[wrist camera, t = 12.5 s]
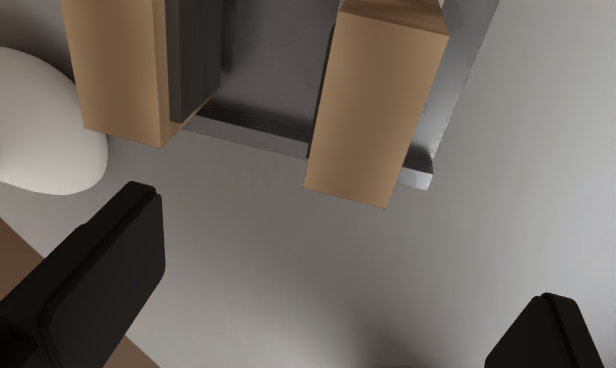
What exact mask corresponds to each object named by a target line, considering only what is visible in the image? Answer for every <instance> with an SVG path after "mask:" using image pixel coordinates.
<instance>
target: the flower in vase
mask: <svg viewBox="0 0 616 368" xmlns="http://www.w3.org/2000/svg"><path fill="white" fill-rule="evenodd" d="M107 161H108V142H107V137H106V134H104V133H100V132H96V131H92V130H88V129H84V125H83V120H82V115H81V110H80V104H79V99H78V94H77V88H76V85H75V84H74V83H73V82H72V81H71V80H70V79H69V78H68V77H66V76H65V75H64V74H63V73H62V72H60V71H59V70H57V69H56V68H54V67H53V66H52V65H50V64H48V63H46V62H45V61H43V60H41V59H39V58H37V57H35V56H32V55H29V54H26V53H23V52H20V51H17V50H14V49H10V48H5V47H0V181H1V182H5V183H8V184H11V185H14V186H17V187H20V188H23V189H26V190H30V191H34V192H38V193H46V194H54V195H68V194H73V193H77V192H80V191H83V190H86V189H88V188H90V187H92V186H94V185H95V184H96V183H98V181H99V180H100V179H101V178H102V176H103V174H104V172H105V170H106V167H107Z"/></svg>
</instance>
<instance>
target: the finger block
mask: <svg viewBox="0 0 616 368" xmlns="http://www.w3.org/2000/svg"><path fill="white" fill-rule="evenodd" d="M449 37H450V36H449V33H448V30H447V26H446V23H445V20H444V17H443V13H442V10H441V7H440V4H439V1H438V0H345V1H344V3H343V4H342V6H341V7H340V9H339V11H338V15H337V20H336V22H335V24H334V25H333V27H332V29H331V30H330V35H329V40H328V45H327V50H326V55H325V60H324V66H323V71H322V76H321V81H320V86H319V92H318V97H317V102H316V107H315V112H314V117H313V123H312V128H311V133H310V138H309V143H308V149H307V154H306V158H307V159H309V161H308V166H307V171H306V176H305V181H304V186H303V188H306V189H310V190H314V191H317V192H321V193H325V194H329V195H333V196H337V197H341V198H345V199H348V200H352V201H356V202H360V203H364V204H368V205H372V206H376V207H379V208H383V209H386V208H387V205H388V203H389V200H390V197H391V194H392V192H393V189H394V186H395V183H396V181H397V178H398V175H399V173H400V170H401V167H402V164H403V162H404V159H405V156H406V154H407V151H408V148H409V145H410V143H411V140H412V137H413V135H414V132H415V129H416V126H417V124H418V121H419V118H420V115H421V113H422V110H423V107H424V105H425V102H426V99H427V96H428V94H429V91H430V88H431V86H432V83H433V80H434V77H435V75H436V72H437V69H438V67H439V64H440V61H441V58H442V56H443V53H444V50H445V48H446V45H447V42H448V39H449Z"/></svg>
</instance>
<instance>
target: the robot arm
mask: <svg viewBox="0 0 616 368" xmlns="http://www.w3.org/2000/svg"><path fill="white" fill-rule="evenodd" d="M164 272H165V248H164V231H163V214H162V198H161V195H160V194H157V193H156V189H155V188H154V187H153V186H149V185H145V184H142V183H138V182H134V181H130V182H128V183H127V184H126V185H125V186H124V187H123V188H122V189H121V190H120V191H119V192H118V193H117V194H116V195H115V196H113V197H112V198H111V199H110V200H109V201H108V202H107V203H106V204H105V205H104V206H103V207H102V208H101V209H100V210H99V211H98V212H97V213H96V214H95V215H94V216H93V217H92V218H91V219H90V220H89V221H88V222H87V223H85V224H82V225H80V226H79V227H77V228H76V229H75V230H74V231H73V232H72V233H71V234H70V235H69V236H68V237H67V238H66V239H65V240H64V241H63V242H61V243H60V244H59V245H58V246H57V247H56V248H55V249H54V250H53V251H52V252H51V253H50V254H49V255H48V256H47V257H46V258H45V259H44V260H43V261H42V262H41V263H40V264H39V265H38V266H37V267H36V268H35V269H34V270H32V271H31V273H29V274H28V275H27V276H26V277H25V278H24V279H23V280H22V281H21V282H20V283H19V284H18V285H17V286H16V287H15V288H14V289H13V290H12V291H11V292H10V293H9V294H8V295H7V296H6V297H5V298H4V299H2V300H1V301H0V368H103V366H104V365H105V363H106V362H107V360H108V359H109V357H110V356H111V354H112V353H113V351H114V350H115V348H116V346H117V345H118V344H119V342H120V341H121V339H122V338H123V336H124V335H125V333H126V332H127V330H128V329H129V327H130V326H131V324H132V323H133V321H134V320H135V318H136V317H137V315H138V314H139V312H140V311H141V309H142V308H143V306H144V305H145V303H146V302H147V300H148V299H149V297H150V296H151V294H152V293H153V291H154V289H155V288H156V286H157V285H158V283H159V282H160V280H161V279H162V277H163V275H164ZM484 368H604V366H603V363H602V361H601V359H600V356H599V354H598V352H597V349H596V347H595V345H594V342H593V340H592V338H591V335H590V333H589V331H588V328H587V326H586V324H585V321H584V319H583V317H582V314H581V312H580V309H579V307H578V305H577V303H576V302H575V301H574V300H573V299H570V298H566V297H563V296H559V295H555V294H552V293H547V292H546V293H543V294H542V295H541V296H540V297H539V296H535V297H533V298H532V299H531V301H530V302H529V303H528V305H527V306H526V307H525V308H524V310H523V311H522V312H521V314H520V315H519V316H518V317H517V319H516V320H515V321H514V323H513V324H512V325H511V326H510V328H509V329H508V330H507V332H506V333H505V334H504V335H503V337H502V338H501V339H500V341H499V342H498V343H497V344H496V346H495V347H494V348H493V350H492V351H491V352H490V353H489V355H488V356H487V358H486V360H485V365H484Z"/></svg>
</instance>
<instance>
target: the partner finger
mask: <svg viewBox="0 0 616 368" xmlns="http://www.w3.org/2000/svg"><path fill="white" fill-rule="evenodd" d="M60 3H61V8H62V14H63V19H64V24H65V30H66V35H67V40H68V46H69V51H70V56H71V62H72V67H73V72H74V78H75V83H76V88H77V94H78V99H79V104H80V110H81V115H82V120H83V125H84V129H88V130H92V131H96V132H100V133H104V134H107V135H111V136H115V137H119V138H123V139H127V140H131V141H135V142H138V143H142V144H146V145H150V146H154V147H158V148H162V147H163V146H164V145H165V144H166V143H167V142H168V141H169V140H170V139H171V138H172V137H173V136H174V135H175V134H176V133H177V132H178V131H179V130H180V129H181V128H182V127H183V126H184V125H185V124H186V123H187V122H188V121H189V120H190V119H191V118H192V117H193V116H194V115H195V114H196V113H197V112H198V111H199V110H200V109H201V108H202V107H203V106H204V105H205V104H206V103H207V102H208V101H209V100H210V99H211V98H212V97H213V96H214V95H215V94H216V90H217V89H218V88H219V87H220V66H221V39H222V11H223V0H60Z"/></svg>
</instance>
